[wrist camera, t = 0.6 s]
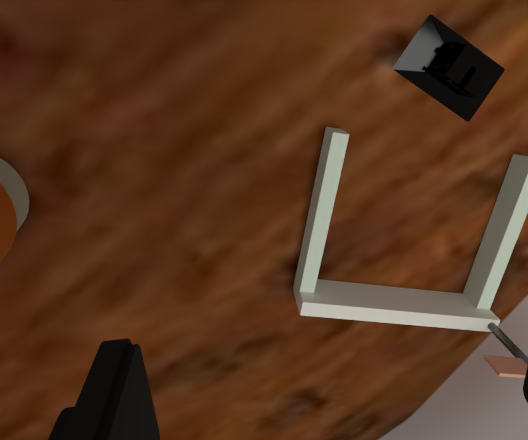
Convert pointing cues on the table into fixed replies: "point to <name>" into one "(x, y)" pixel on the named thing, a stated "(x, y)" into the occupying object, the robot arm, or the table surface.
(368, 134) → the table surface
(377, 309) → the frame
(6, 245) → the reusable coffee cup
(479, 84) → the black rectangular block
